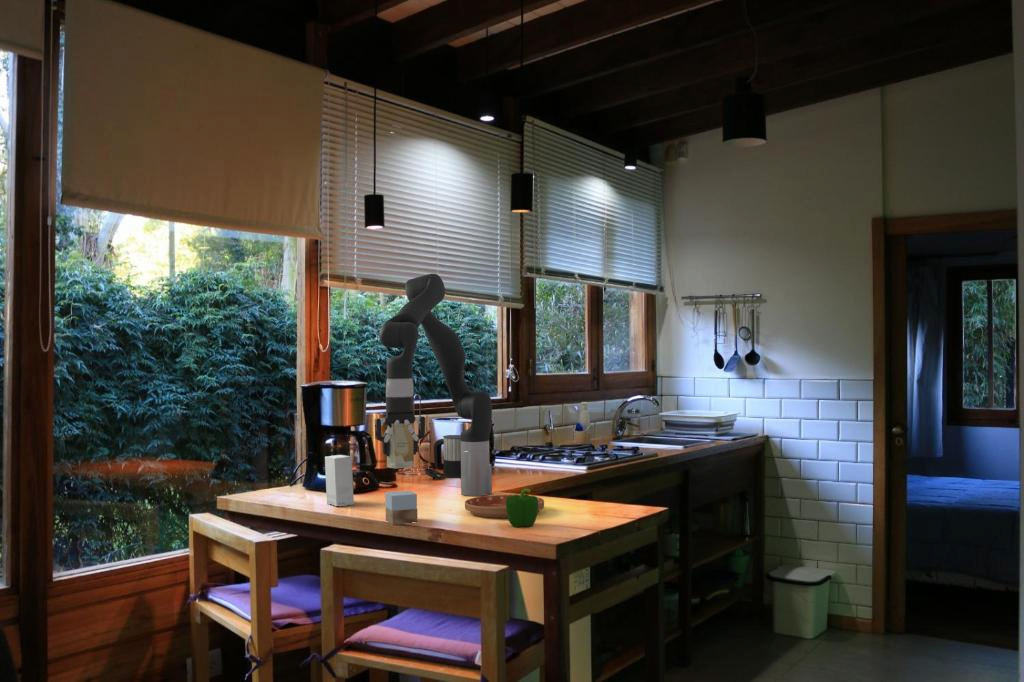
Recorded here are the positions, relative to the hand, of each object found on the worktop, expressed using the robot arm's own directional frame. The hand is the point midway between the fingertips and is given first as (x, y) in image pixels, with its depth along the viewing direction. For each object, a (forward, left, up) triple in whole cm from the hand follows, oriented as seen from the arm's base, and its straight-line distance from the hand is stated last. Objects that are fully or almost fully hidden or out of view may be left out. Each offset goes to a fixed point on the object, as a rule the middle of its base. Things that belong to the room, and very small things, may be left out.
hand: (400, 455), depth 251 cm
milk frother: (-37, -73, -19) cm, 84 cm away
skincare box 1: (+10, -34, -19) cm, 40 cm away
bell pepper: (-28, +19, -19) cm, 39 cm away
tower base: (0, 0, -19) cm, 19 cm away
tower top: (0, 0, -15) cm, 15 cm away
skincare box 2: (0, 0, -4) cm, 4 cm away
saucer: (-31, -1, -19) cm, 36 cm away
